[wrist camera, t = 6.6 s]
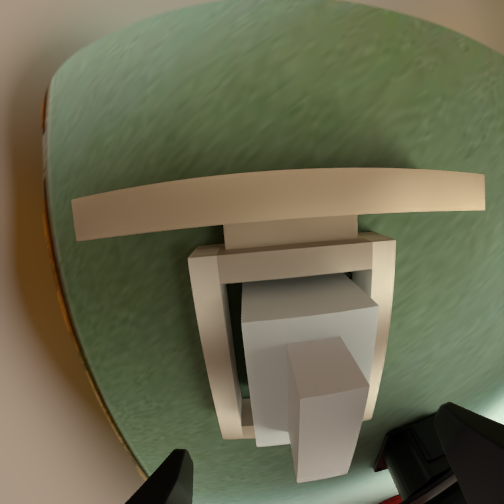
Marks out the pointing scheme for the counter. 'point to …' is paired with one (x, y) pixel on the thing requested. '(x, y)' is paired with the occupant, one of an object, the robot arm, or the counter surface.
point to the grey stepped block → (309, 367)
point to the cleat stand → (278, 244)
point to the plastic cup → (393, 500)
